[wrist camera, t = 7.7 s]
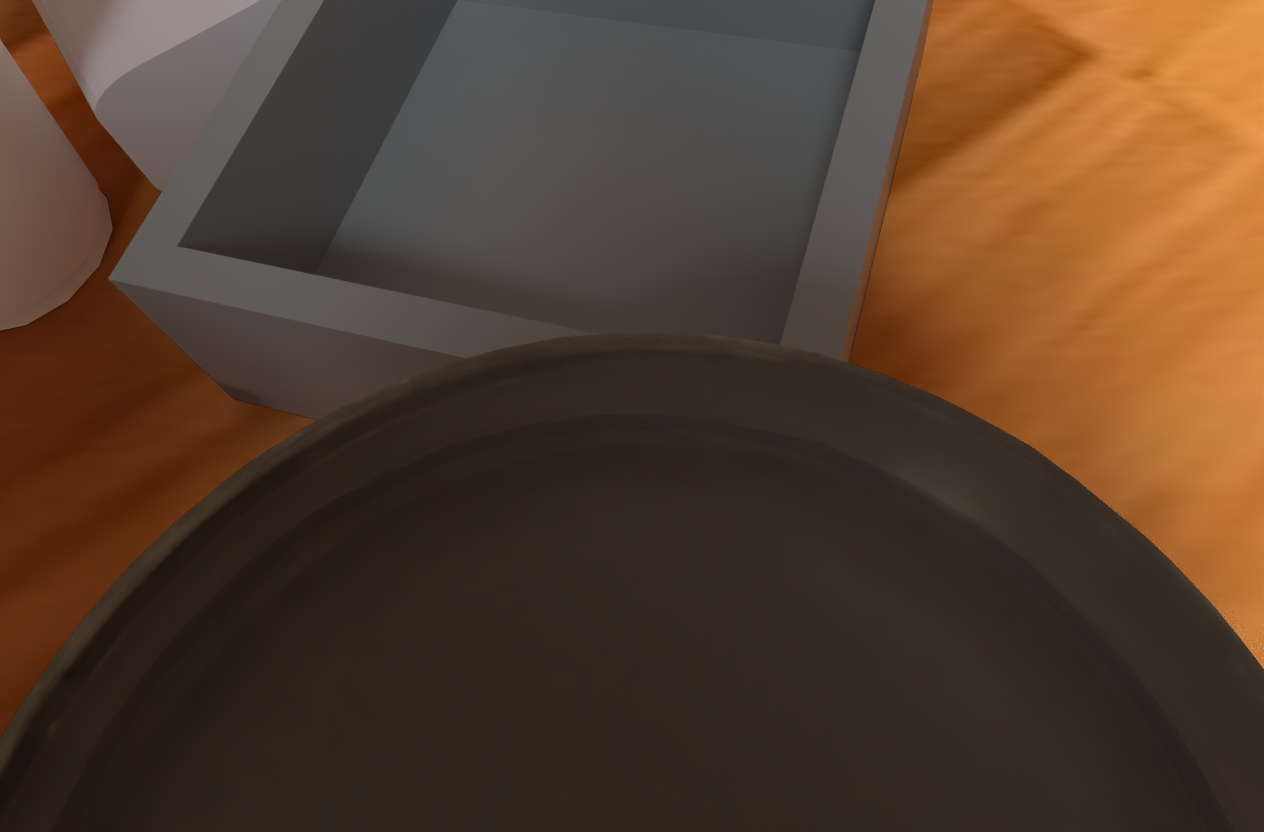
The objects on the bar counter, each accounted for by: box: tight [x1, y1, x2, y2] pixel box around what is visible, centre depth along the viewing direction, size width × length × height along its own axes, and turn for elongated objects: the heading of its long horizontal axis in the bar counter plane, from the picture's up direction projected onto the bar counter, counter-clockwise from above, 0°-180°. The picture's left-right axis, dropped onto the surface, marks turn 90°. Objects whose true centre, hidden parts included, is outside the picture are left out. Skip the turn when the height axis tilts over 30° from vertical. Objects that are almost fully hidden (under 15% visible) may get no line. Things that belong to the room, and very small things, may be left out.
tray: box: [108, 0, 933, 420], centre depth 26 cm, size 16×16×6 cm
